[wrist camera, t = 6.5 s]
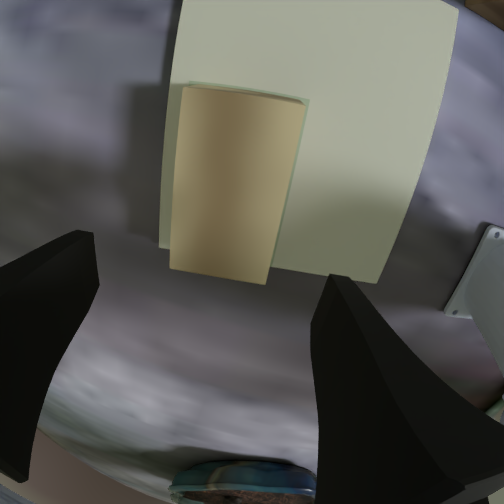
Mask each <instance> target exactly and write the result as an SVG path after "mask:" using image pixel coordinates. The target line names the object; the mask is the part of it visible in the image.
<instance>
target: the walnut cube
mask: <svg viewBox="0 0 504 504" xmlns="http://www.w3.org/2000/svg"><path fill="white" fill-rule="evenodd" d="M465 7H467V8H469V9H470V10H472V11H474V12H475V13H477V14H479V15H480V16H482V17H483V18H485V19H487V20H488V21H490V22H491V23H493V24H494V25H496V26H497V27H499V28H500V29H502V30H503V31H504V0H465Z"/></svg>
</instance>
